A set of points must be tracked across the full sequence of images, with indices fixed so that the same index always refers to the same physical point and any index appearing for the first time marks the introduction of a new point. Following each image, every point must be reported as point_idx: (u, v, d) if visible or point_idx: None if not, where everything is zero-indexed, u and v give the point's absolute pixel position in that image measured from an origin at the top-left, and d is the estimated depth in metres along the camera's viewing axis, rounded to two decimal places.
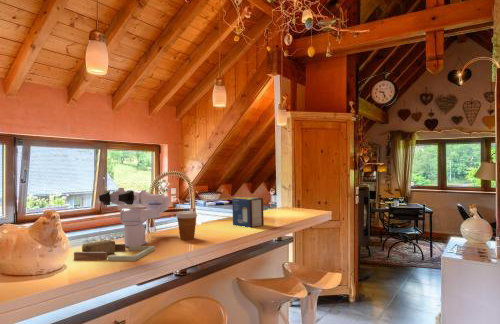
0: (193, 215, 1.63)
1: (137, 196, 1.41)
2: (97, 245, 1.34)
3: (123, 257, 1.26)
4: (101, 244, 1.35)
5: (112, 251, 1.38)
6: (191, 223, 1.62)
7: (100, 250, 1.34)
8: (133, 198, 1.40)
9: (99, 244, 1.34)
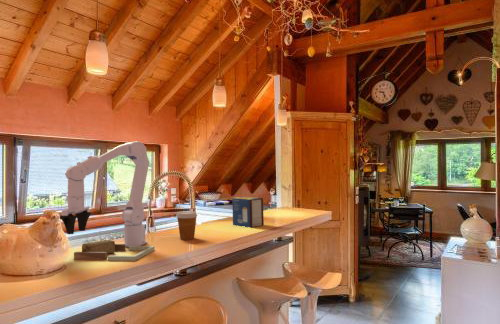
0: (193, 215, 1.63)
1: (63, 213, 1.31)
2: (97, 245, 1.34)
3: (123, 257, 1.26)
4: (101, 244, 1.35)
5: (112, 251, 1.38)
6: (191, 223, 1.62)
7: (99, 250, 1.34)
8: (67, 216, 1.32)
9: (99, 244, 1.35)
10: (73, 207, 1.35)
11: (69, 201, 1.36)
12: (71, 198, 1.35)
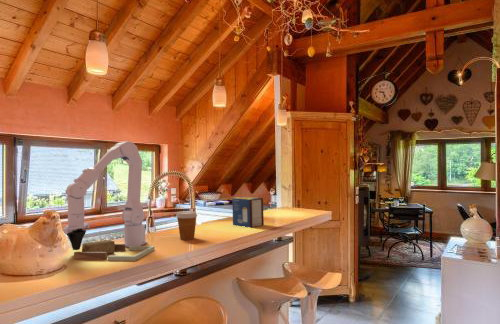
0: (193, 215, 1.63)
1: None
2: (96, 245, 1.34)
3: (123, 257, 1.26)
4: (100, 244, 1.35)
5: (111, 251, 1.37)
6: (191, 223, 1.62)
7: (98, 250, 1.34)
8: (72, 232, 1.35)
9: (98, 244, 1.35)
10: (73, 225, 1.35)
11: (69, 219, 1.35)
12: (71, 216, 1.35)
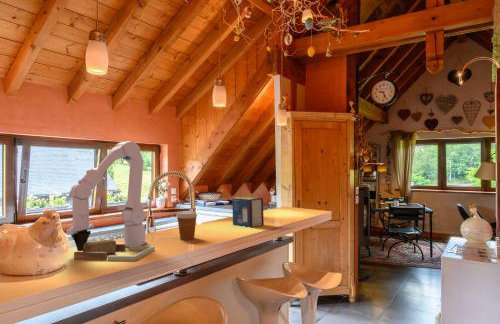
0: (193, 215, 1.63)
1: (68, 232, 1.31)
2: (96, 244, 1.34)
3: (123, 257, 1.26)
4: (101, 244, 1.35)
5: (112, 251, 1.37)
6: (191, 223, 1.62)
7: (99, 250, 1.34)
8: (77, 234, 1.35)
9: (99, 244, 1.34)
10: (78, 226, 1.35)
11: (74, 220, 1.35)
12: (76, 217, 1.35)
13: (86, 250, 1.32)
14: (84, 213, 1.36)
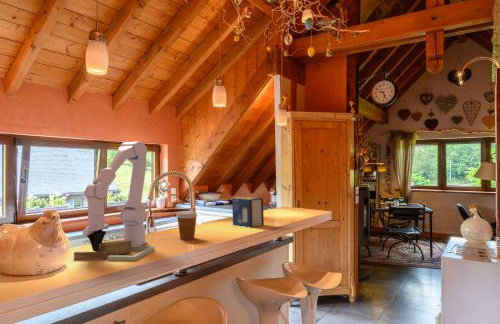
0: (193, 215, 1.63)
1: (84, 232, 1.30)
2: (112, 244, 1.33)
3: (123, 257, 1.26)
4: (116, 244, 1.34)
5: (128, 251, 1.36)
6: (191, 223, 1.62)
7: (115, 250, 1.33)
8: (93, 234, 1.34)
9: (114, 244, 1.33)
10: (94, 226, 1.34)
11: (89, 220, 1.34)
12: (92, 217, 1.34)
13: (102, 250, 1.31)
14: (101, 213, 1.36)
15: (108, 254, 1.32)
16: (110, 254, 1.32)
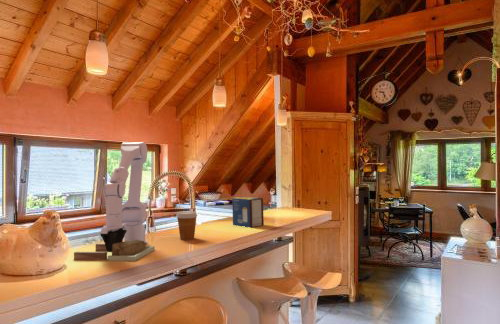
0: (193, 215, 1.63)
1: (102, 231, 1.28)
2: (129, 245, 1.31)
3: (123, 257, 1.26)
4: (133, 244, 1.32)
5: None
6: (191, 223, 1.62)
7: (131, 250, 1.31)
8: (107, 234, 1.30)
9: (131, 244, 1.31)
10: (112, 225, 1.33)
11: (108, 218, 1.33)
12: (110, 215, 1.33)
13: (120, 251, 1.28)
14: (121, 211, 1.36)
15: (125, 255, 1.29)
16: (127, 255, 1.30)
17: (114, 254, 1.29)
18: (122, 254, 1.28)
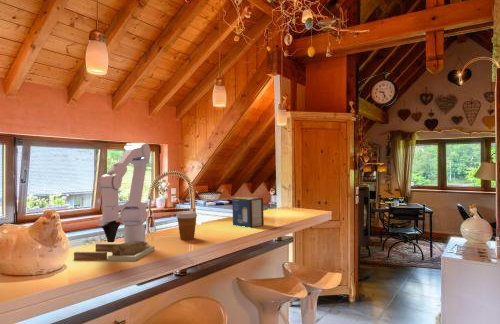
0: (193, 215, 1.63)
1: (99, 223, 1.29)
2: (129, 246, 1.31)
3: (123, 257, 1.26)
4: (133, 245, 1.32)
5: None
6: (191, 223, 1.62)
7: (132, 251, 1.32)
8: (108, 225, 1.34)
9: (131, 245, 1.32)
10: (108, 217, 1.33)
11: (104, 211, 1.34)
12: (106, 208, 1.34)
13: (121, 252, 1.28)
14: (117, 203, 1.36)
15: None
16: None
17: None
18: (123, 255, 1.28)
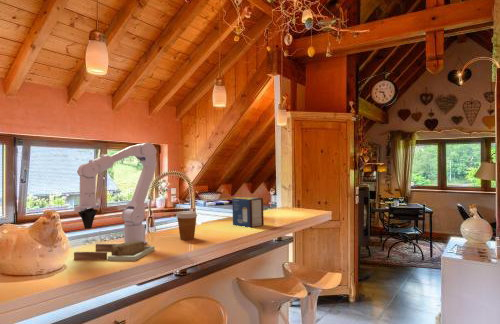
0: (193, 215, 1.63)
1: (75, 209, 1.34)
2: (128, 246, 1.31)
3: (123, 257, 1.26)
4: (132, 245, 1.32)
5: None
6: (191, 223, 1.62)
7: (131, 251, 1.32)
8: (84, 211, 1.38)
9: (130, 245, 1.32)
10: (85, 204, 1.38)
11: (81, 198, 1.38)
12: (83, 195, 1.38)
13: (119, 252, 1.28)
14: (91, 191, 1.39)
15: None
16: None
17: (113, 255, 1.29)
18: (121, 255, 1.28)
